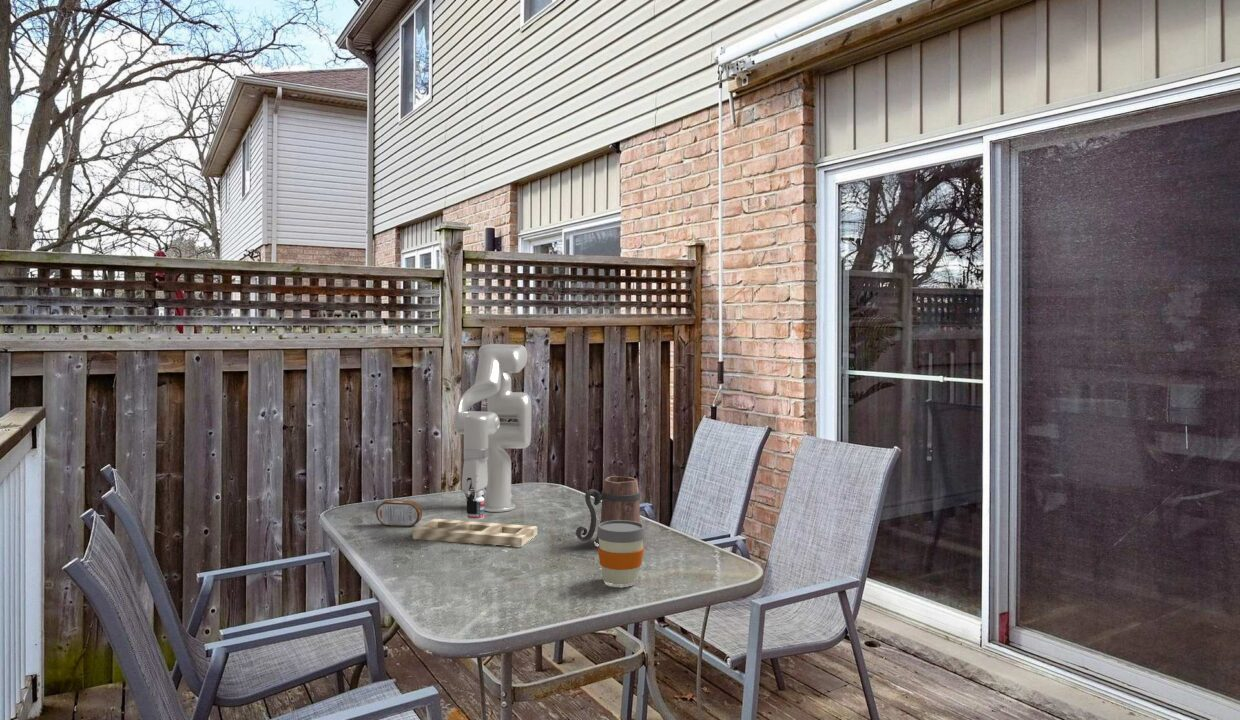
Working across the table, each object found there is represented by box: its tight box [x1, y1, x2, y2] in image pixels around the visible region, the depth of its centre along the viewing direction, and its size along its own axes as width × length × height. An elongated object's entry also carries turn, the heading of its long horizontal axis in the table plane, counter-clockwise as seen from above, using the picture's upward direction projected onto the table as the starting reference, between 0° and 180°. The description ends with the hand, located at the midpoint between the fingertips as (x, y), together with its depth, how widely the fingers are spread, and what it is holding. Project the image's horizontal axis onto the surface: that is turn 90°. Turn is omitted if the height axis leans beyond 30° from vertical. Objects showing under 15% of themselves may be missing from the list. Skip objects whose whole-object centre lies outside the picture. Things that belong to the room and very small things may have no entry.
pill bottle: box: [467, 489, 485, 521], centre depth 247 cm, size 5×5×9 cm
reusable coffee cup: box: [596, 520, 646, 584], centre depth 206 cm, size 12×13×15 cm
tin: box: [375, 499, 423, 527], centre depth 260 cm, size 15×3×8 cm, turn 84°
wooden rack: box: [412, 517, 538, 547], centre depth 247 cm, size 36×14×3 cm, turn 77°
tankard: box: [575, 475, 645, 544], centre depth 241 cm, size 24×17×20 cm
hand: (475, 510), depth 247 cm, fingers closed on pill bottle, 5 cm apart
